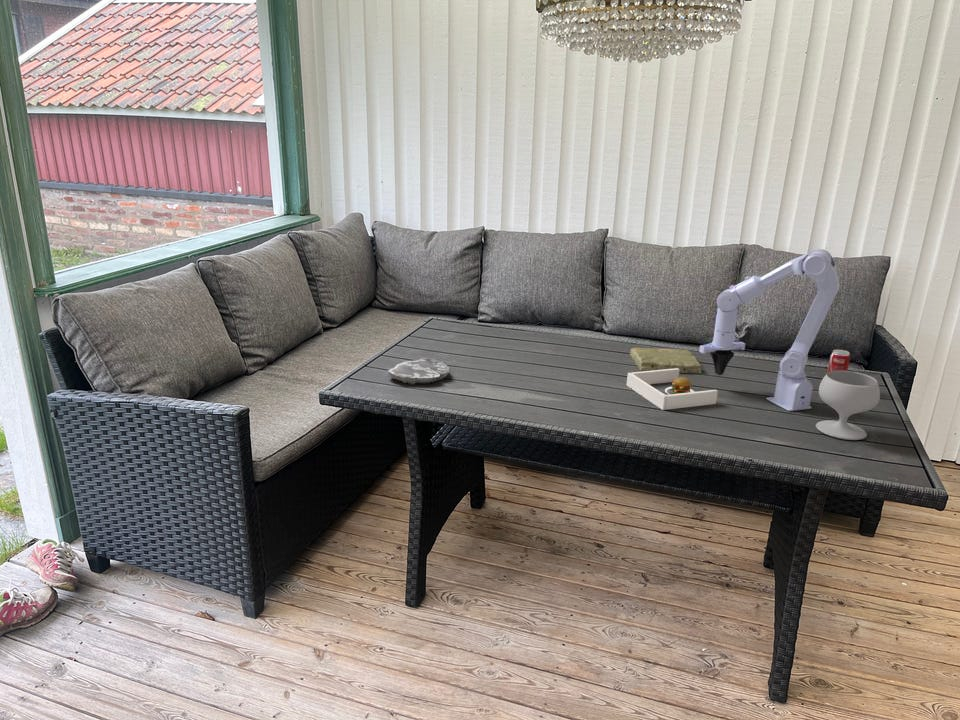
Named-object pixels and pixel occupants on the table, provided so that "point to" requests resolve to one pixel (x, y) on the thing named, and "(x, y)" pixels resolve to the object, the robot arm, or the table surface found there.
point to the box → (665, 402)
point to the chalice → (847, 401)
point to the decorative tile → (665, 360)
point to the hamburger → (680, 386)
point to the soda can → (839, 360)
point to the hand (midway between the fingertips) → (718, 373)
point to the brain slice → (420, 371)
